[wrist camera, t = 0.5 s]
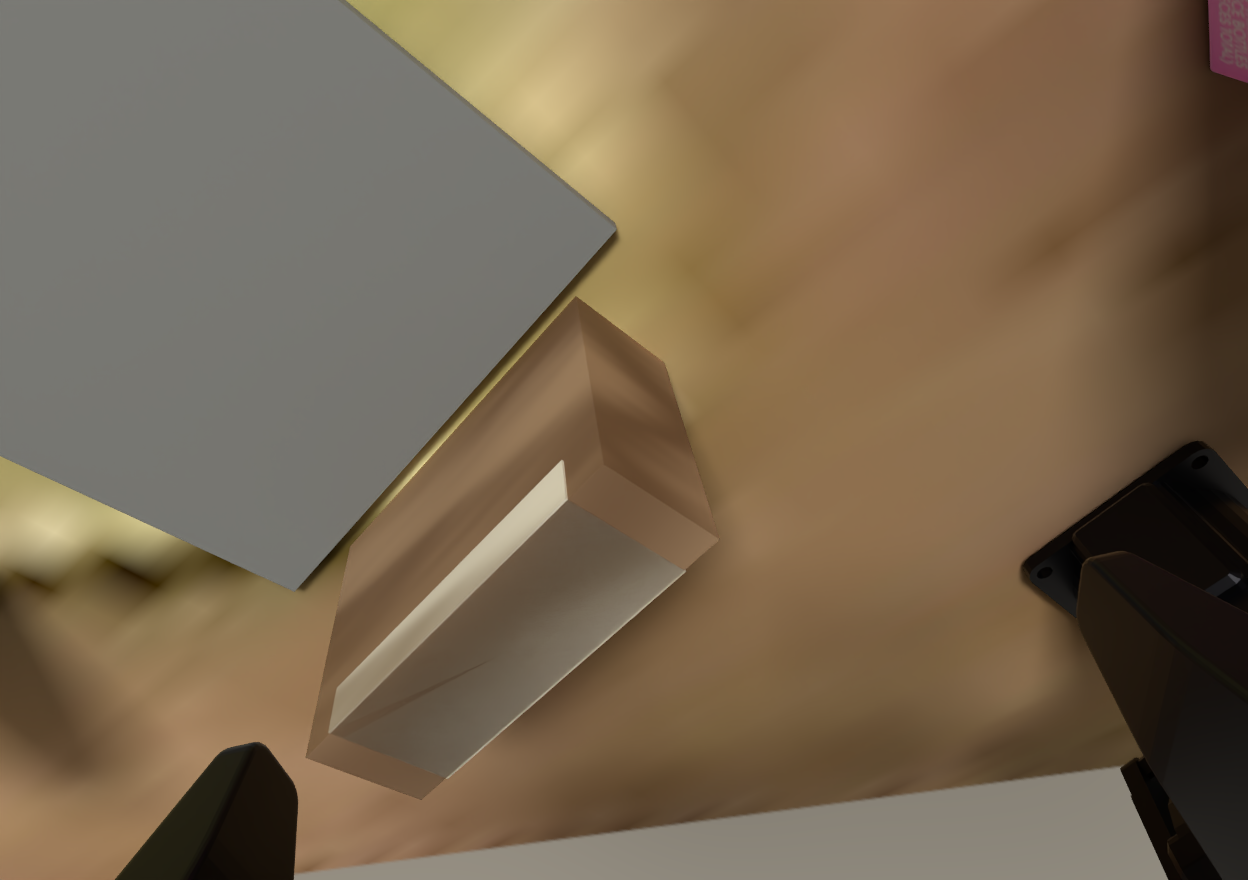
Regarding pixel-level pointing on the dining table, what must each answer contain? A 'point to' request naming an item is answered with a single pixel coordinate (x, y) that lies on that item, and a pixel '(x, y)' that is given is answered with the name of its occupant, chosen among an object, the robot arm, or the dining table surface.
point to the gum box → (1229, 38)
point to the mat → (253, 262)
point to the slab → (510, 557)
